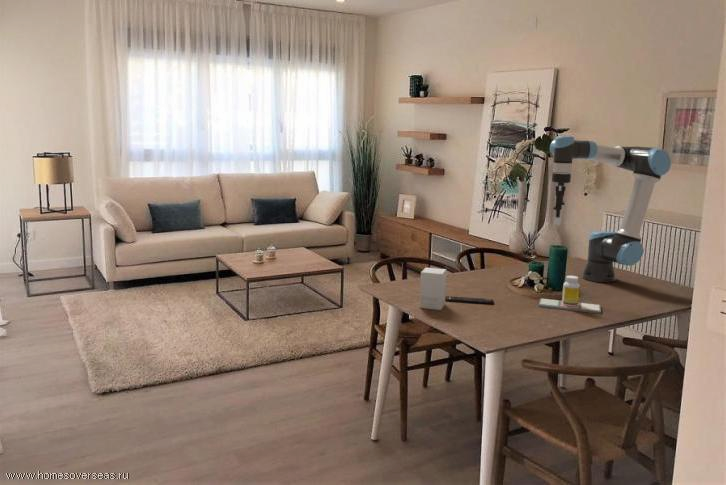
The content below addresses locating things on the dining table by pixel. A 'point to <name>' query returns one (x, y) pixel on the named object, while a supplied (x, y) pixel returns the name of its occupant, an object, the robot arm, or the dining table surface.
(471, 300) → the remote control
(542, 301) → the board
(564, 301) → the pill bottle
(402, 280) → the dining table surface
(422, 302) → the supplement box
